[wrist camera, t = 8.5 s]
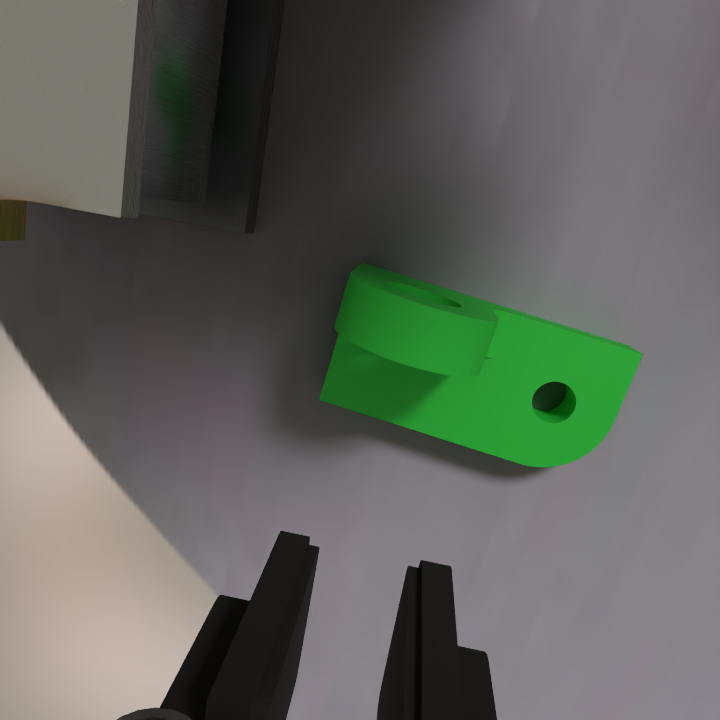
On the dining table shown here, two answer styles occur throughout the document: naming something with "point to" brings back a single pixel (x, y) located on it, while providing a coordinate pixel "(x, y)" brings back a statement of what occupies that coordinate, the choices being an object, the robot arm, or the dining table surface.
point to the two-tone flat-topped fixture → (136, 108)
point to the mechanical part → (472, 370)
